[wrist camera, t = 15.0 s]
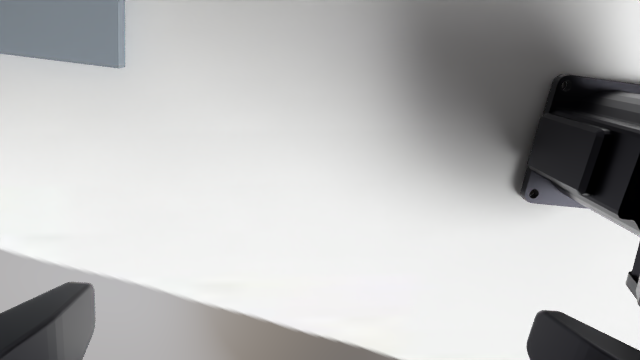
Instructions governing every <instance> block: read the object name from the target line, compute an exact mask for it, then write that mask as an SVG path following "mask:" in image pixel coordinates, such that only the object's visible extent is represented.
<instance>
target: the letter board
mask: <svg viewBox="0 0 640 360" xmlns="http://www.w3.org/2000/svg"><path fill="white" fill-rule="evenodd" d="M0 54H8V55H16V56H24V57H32V58H40V59H48V60H56V61H64V62H73V63H81V64H89V65H97V66H105V67H113V68H122V67H125V0H0Z"/></svg>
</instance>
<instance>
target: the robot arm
mask: <svg viewBox="0 0 640 360" xmlns="http://www.w3.org/2000/svg"><path fill="white" fill-rule="evenodd" d="M565 81H566V82H567V86H566V87H565V88H564V89H562V84H563V82H565ZM532 190H534V193H533V194H532V195H531V196H529V193H530V192H531V191H532ZM521 196H522V198H523V199H524V200H526V201H527V202H530V203H537V204H547V205H557V206H568V207H578V208H588V209H591V210H592V211H594V212H596V213H598V214H600V215H601V216H603V217H605V218H607V219H609V220H610V221H612V222H614V223H616V224H618V225H619V226H621V227H623V228H625V229H627V230H628V231H630V232H632V233H634V234H636V235H637V236H639V237H640V85H638V84H631V83H623V82H616V81H609V80H602V79H595V78H588V77H581V76H574V75H566V74H562V75H559V76H557V77H556V78H555V79H554V81H553V83H552V86H551V89H550V93H549V96H548V99H547V103H546V106H545V110H544V113H543V116H542V117H541V118H540V122H539V125H538V129H537V132H536V136H535V139H534V142H533V146H532V149H531V153H530V156H529V160H528V168H527V171H526V175H525V178H524V182H523V185H522V188H521ZM626 285H627V287H628V288H629V289H630V291H631V292H632V294H633V295H634V296H635V298H636V299H637V302H638V304H639V306H640V243H639V247H638V251H637V255H636V258H635V262H634V266H633V270H632V271H631V272H629V273H628V277H627V281H626ZM94 296H95V295H94V288H93V285H92V284H90V283H81V282H68V283H65V284H63V285H61V286H59V287H56V288H54V289H52V290H50V291H48V292H46V293H43V294H41V295H39V296H37V297H35V298H33V299H31V300H28V301H26V302H24V303H22V304H20V305H18V306H16V307H13V308H11V309H9V310H7V311H5V312H2V313H0V360H82V359H83V357H84V354H85V352H86V349H87V347H88V345H89V342H90V339H91V337H92V335H93V332H94V327H95V297H94ZM527 352H528V355H529V358H530V360H640V351H639V350H637V349H635V348H633V347H631V346H629V345H627V344H625V343H623V342H621V341H619V340H617V339H615V338H613V337H611V336H609V335H607V334H605V333H603V332H601V331H598V330H596V329H594V328H592V327H590V326H588V325H586V324H584V323H582V322H580V321H578V320H576V319H574V318H572V317H570V316H568V315H566V314H564V313H562V312H559V311H547V310H542V311H540V312H538V313H537V314H536V317H535V319H534V322H533V325H532V328H531V331H530V334H529V337H528V340H527Z"/></svg>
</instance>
